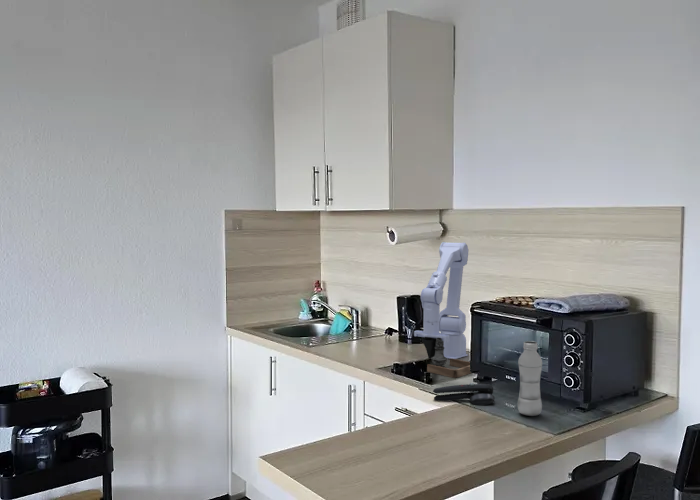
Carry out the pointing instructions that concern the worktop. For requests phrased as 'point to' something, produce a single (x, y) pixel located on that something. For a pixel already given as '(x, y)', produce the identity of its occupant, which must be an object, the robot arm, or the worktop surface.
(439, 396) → the can opener
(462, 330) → the robot arm
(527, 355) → the plastic bottle
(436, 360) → the grey stone vase
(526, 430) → the worktop surface
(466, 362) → the walnut corral
